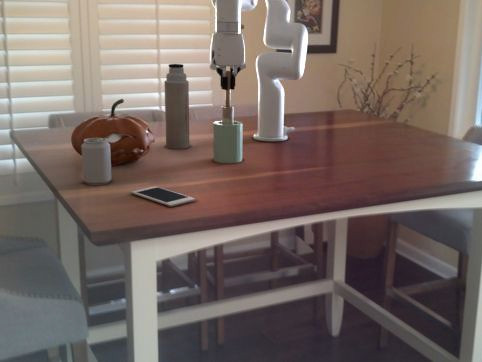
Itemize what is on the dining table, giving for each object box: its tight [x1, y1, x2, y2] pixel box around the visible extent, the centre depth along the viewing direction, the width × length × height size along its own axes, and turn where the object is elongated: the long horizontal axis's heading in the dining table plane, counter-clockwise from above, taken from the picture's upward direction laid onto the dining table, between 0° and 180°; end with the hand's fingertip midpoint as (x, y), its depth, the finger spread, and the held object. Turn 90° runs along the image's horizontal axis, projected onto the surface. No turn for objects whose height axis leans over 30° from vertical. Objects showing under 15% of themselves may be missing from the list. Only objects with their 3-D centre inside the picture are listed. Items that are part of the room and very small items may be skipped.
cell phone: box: [131, 186, 195, 208], centre depth 170 cm, size 8×16×1 cm, turn 48°
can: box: [81, 138, 112, 186], centre depth 181 cm, size 8×8×12 cm
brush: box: [221, 70, 235, 125], centre depth 207 cm, size 4×4×17 cm
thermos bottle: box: [164, 63, 190, 150], centre depth 226 cm, size 8×8×28 cm
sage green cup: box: [212, 120, 244, 164], centre depth 210 cm, size 9×9×12 cm
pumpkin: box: [70, 98, 156, 166], centre depth 204 cm, size 25×25×19 cm
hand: (227, 88), depth 206 cm, fingers closed on brush
